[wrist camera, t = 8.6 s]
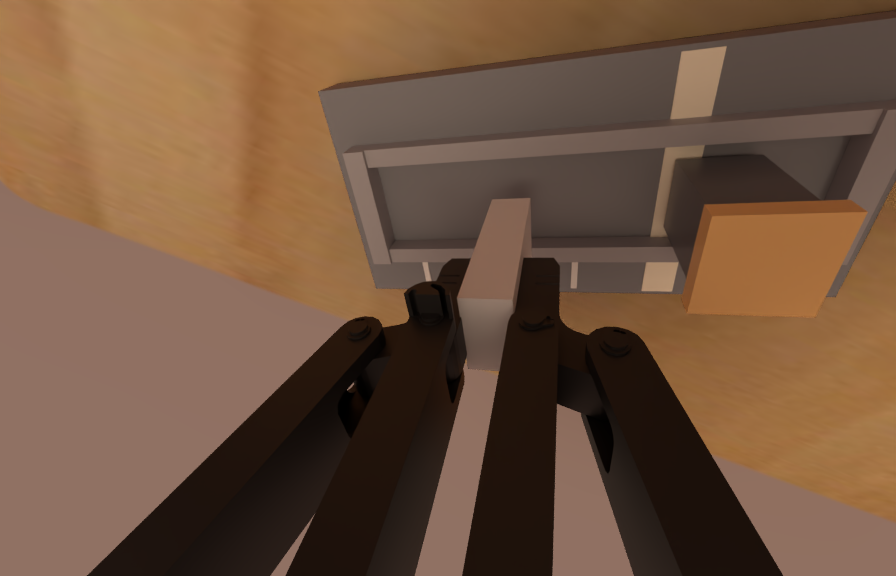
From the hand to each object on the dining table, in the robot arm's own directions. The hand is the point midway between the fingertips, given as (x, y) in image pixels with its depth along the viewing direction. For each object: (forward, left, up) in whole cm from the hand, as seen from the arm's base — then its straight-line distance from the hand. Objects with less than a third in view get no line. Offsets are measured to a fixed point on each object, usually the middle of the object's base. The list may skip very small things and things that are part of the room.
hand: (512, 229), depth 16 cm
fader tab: (-8, 0, -3) cm, 8 cm away
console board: (-3, 0, -5) cm, 6 cm away
